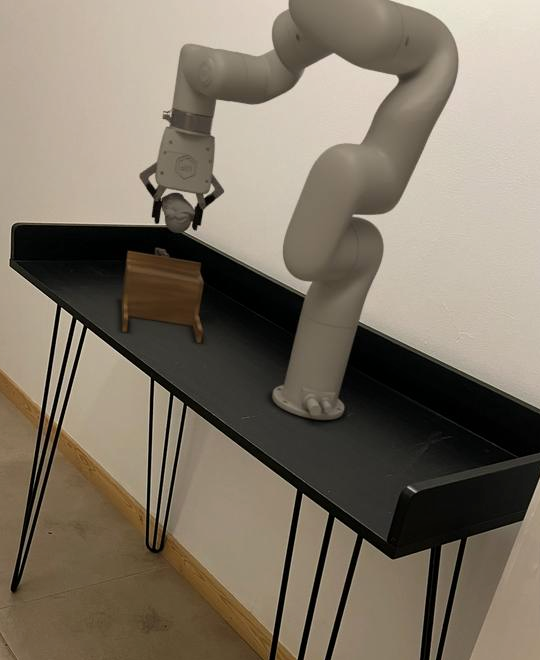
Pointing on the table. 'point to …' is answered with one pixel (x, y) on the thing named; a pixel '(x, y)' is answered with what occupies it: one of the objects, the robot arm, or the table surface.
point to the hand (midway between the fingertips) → (175, 224)
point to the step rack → (162, 290)
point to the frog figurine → (177, 212)
